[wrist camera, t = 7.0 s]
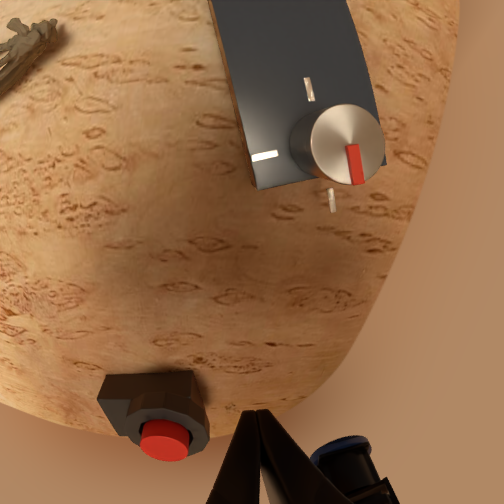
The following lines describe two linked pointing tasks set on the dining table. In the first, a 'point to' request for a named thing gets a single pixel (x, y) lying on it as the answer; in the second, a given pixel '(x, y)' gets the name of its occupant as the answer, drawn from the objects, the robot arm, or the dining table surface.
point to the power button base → (155, 404)
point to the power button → (165, 440)
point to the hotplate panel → (287, 75)
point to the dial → (339, 144)
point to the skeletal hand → (24, 49)
